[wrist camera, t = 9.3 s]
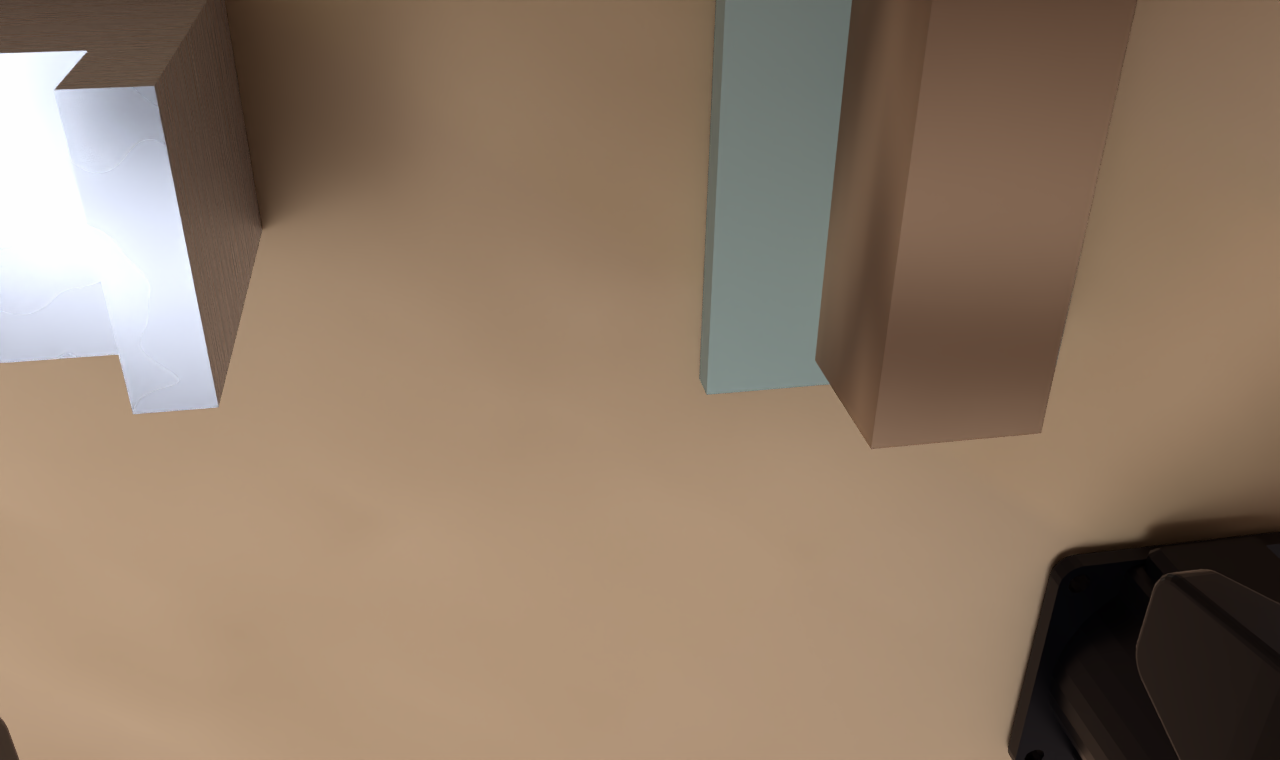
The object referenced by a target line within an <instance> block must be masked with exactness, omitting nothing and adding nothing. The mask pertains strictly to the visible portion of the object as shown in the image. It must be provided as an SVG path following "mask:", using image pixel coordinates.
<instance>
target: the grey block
mask: <svg viewBox="0 0 1280 760" xmlns="http://www.w3.org/2000/svg"><path fill="white" fill-rule="evenodd" d="M261 234H262V227H261V221H260V214H259V208H258V202H257V196H256V190H255V184H254V178H253V172H252V166H251V159H250V153H249V147H248V141H247V135H246V129H245V123H244V117H243V110H242V104H241V98H240V92H239V86H238V80H237V74H236V68H235V61H234V55H233V49H232V43H231V37H230V31H229V25H228V19H227V12H226V6H225V0H0V363H6V362H20V361H34V360H48V359H61V358H75V357H89V356H103V355H116V354H119V358H120V362H121V367H122V371H123V375H124V379H125V383H126V387H127V391H128V395H129V399H130V403H131V407H132V412H133V414H141V413H153V412H166V411H178V410H190V409H203V408H215V407H219V403H220V399H221V395H222V391H223V387H224V383H225V379H226V375H227V371H228V367H229V363H230V359H231V355H232V351H233V347H234V343H235V339H236V335H237V331H238V327H239V323H240V318H241V314H242V310H243V306H244V302H245V298H246V294H247V290H248V286H249V282H250V278H251V274H252V270H253V266H254V262H255V258H256V254H257V250H258V246H259V242H260V238H261Z"/></svg>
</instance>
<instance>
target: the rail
mask: <svg viewBox="0 0 1280 760" xmlns="http://www.w3.org/2000/svg"><path fill="white" fill-rule="evenodd" d="M1136 4H1137V0H852V5H851V15H850V24H849V34H848V44H847V54H846V63H845V73H844V83H843V93H842V102H841V112H840V122H839V131H838V141H837V151H836V161H835V170H834V180H833V190H832V200H831V209H830V219H829V229H828V239H827V248H826V258H825V268H824V278H823V287H822V297H821V307H820V316H819V326H818V336H817V346H816V355H815V361H816V363H817V365H818V366H819V368H820V369H821V371H822V372H823V374H824V376H825V377H826V379H827V380H828V382H829V383H830V385H831V387H832V388H833V390H834V391H835V393H836V394H837V396H838V398H839V399H840V401H841V402H842V404H843V405H844V407H845V409H846V410H847V412H848V413H849V415H850V416H851V418H852V420H853V421H854V423H855V424H856V426H857V427H858V429H859V431H860V432H861V434H862V435H863V437H864V438H865V440H866V442H867V443H868V445H869V446H870V448H871V449H875V448H886V447H897V446H908V445H919V444H929V443H940V442H951V441H962V440H973V439H983V438H994V437H1005V436H1016V435H1027V434H1037V433H1041V430H1042V426H1043V421H1044V417H1045V412H1046V408H1047V403H1048V399H1049V394H1050V390H1051V385H1052V381H1053V376H1054V372H1055V367H1056V363H1057V358H1058V354H1059V349H1060V345H1061V340H1062V336H1063V331H1064V327H1065V322H1066V318H1067V313H1068V309H1069V304H1070V300H1071V295H1072V291H1073V287H1074V282H1075V278H1076V273H1077V269H1078V264H1079V260H1080V255H1081V251H1082V246H1083V242H1084V237H1085V233H1086V228H1087V224H1088V219H1089V215H1090V210H1091V206H1092V201H1093V197H1094V192H1095V188H1096V183H1097V179H1098V174H1099V170H1100V165H1101V161H1102V156H1103V152H1104V147H1105V143H1106V138H1107V134H1108V129H1109V125H1110V120H1111V116H1112V111H1113V107H1114V102H1115V98H1116V93H1117V89H1118V85H1119V80H1120V76H1121V71H1122V67H1123V62H1124V58H1125V53H1126V49H1127V44H1128V40H1129V35H1130V31H1131V26H1132V22H1133V17H1134V13H1135V8H1136Z"/></svg>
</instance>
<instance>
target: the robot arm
mask: <svg viewBox="0 0 1280 760" xmlns="http://www.w3.org/2000/svg"><path fill="white" fill-rule="evenodd" d="M1076 576H1078V577H1076ZM1075 577H1076V578H1075ZM1074 578H1075V579H1074ZM1072 579H1074V580H1072ZM1008 753H1009V755H1010V757H1011V758H1012V760H1280V532H1273V533H1264V534H1256V535H1247V536H1238V537H1229V538H1220V539H1211V540H1202V541H1194V542H1185V543H1176V544H1167V545H1158V546H1149V547H1141V548H1132V549H1123V550H1114V551H1105V552H1096V553H1088V554H1079V555H1073V556H1069V557H1066V558H1064V559H1063V560H1061V561H1059V562H1058V563H1057V564H1056V565H1055V567H1054V568H1053V569H1052V572H1051V574H1050V577H1049V581H1048V585H1047V589H1046V593H1045V597H1044V601H1043V606H1042V610H1041V614H1040V618H1039V622H1038V626H1037V630H1036V634H1035V638H1034V643H1033V647H1032V651H1031V655H1030V659H1029V663H1028V667H1027V671H1026V675H1025V680H1024V684H1023V688H1022V692H1021V696H1020V700H1019V704H1018V708H1017V712H1016V717H1015V721H1014V725H1013V729H1012V733H1011V737H1010V741H1009V745H1008ZM0 760H19V758H18V755H17V752H16V749H15V747H14V744H13V741H12V739H11V736H10V733H9V730H8V728H7V726H6V724H5V722H4V721H3V720H2V719H1V718H0Z"/></svg>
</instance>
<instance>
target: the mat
mask: <svg viewBox="0 0 1280 760" xmlns="http://www.w3.org/2000/svg"><path fill="white" fill-rule="evenodd" d="M851 5H852V0H716V11H715V33H714V56H713V79H712V102H711V125H710V148H709V171H708V194H707V217H706V240H705V263H704V286H703V309H702V332H701V355H700V378H699V379H700V381H701V383H702V385H703V388H704V390H705V392H706V394H707V395H708V394H720V393H731V392H743V391H755V390H767V389H779V388H791V387H802V386H814V385H826V384H830V383H829V382H828V380H827V379H826V377H825V376H824V374H823V372H822V371H821V369H820V368H819V366H818V365H817V363H816V361H815V355H816V346H817V336H818V326H819V316H820V307H821V297H822V287H823V278H824V268H825V258H826V248H827V239H828V229H829V219H830V209H831V200H832V190H833V180H834V170H835V161H836V151H837V141H838V131H839V122H840V112H841V102H842V93H843V83H844V73H845V63H846V54H847V44H848V34H849V24H850V15H851ZM1071 296H1072V295H1071ZM1070 301H1071V300H1070ZM1069 305H1070V304H1069ZM1068 310H1069V309H1068ZM1067 314H1068V313H1067ZM1066 319H1067V318H1066ZM1065 323H1066V322H1065ZM1064 328H1065V327H1064ZM1063 332H1064V331H1063ZM1062 337H1063V336H1062ZM1061 341H1062V340H1061ZM1060 346H1061V345H1060ZM1059 350H1060V349H1059ZM1058 355H1059V354H1058ZM1057 359H1058V358H1057ZM1056 364H1057V363H1056Z"/></svg>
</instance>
